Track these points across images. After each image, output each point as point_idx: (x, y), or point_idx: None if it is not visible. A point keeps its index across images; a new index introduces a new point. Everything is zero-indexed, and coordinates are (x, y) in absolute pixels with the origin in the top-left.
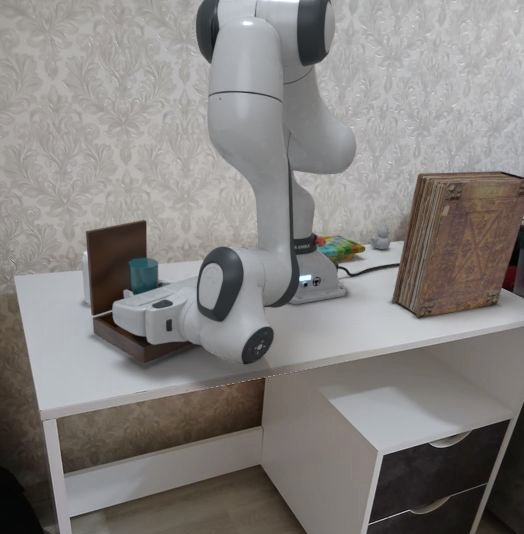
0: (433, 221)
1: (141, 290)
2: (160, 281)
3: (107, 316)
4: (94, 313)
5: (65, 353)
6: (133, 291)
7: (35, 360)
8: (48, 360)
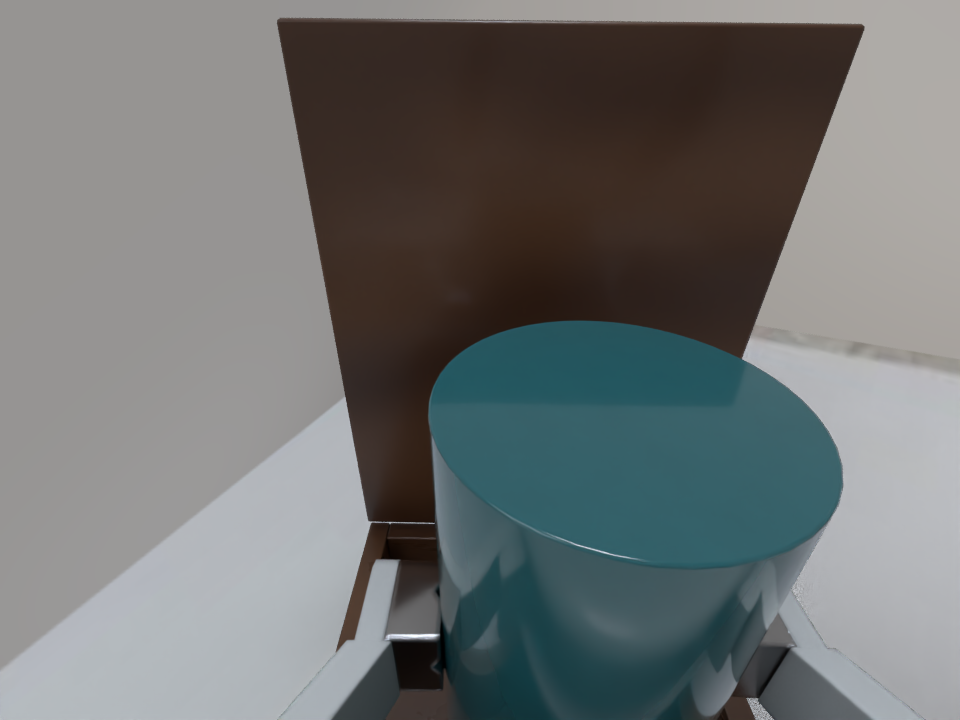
0: None
1: (473, 691)
2: (778, 612)
3: (434, 544)
4: (371, 514)
5: (189, 630)
6: (409, 639)
7: (88, 601)
8: (101, 635)
